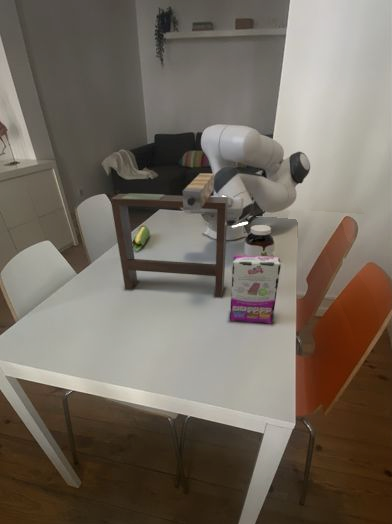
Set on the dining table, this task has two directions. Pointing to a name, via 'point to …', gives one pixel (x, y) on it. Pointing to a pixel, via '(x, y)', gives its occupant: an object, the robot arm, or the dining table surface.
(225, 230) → the dark brown wooden frame
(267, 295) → the candy bar box
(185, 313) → the dining table surface
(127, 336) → the dining table surface
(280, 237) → the dining table surface
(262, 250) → the spread jar
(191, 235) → the dining table surface
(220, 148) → the robot arm
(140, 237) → the edible corn
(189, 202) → the light wood square bar
